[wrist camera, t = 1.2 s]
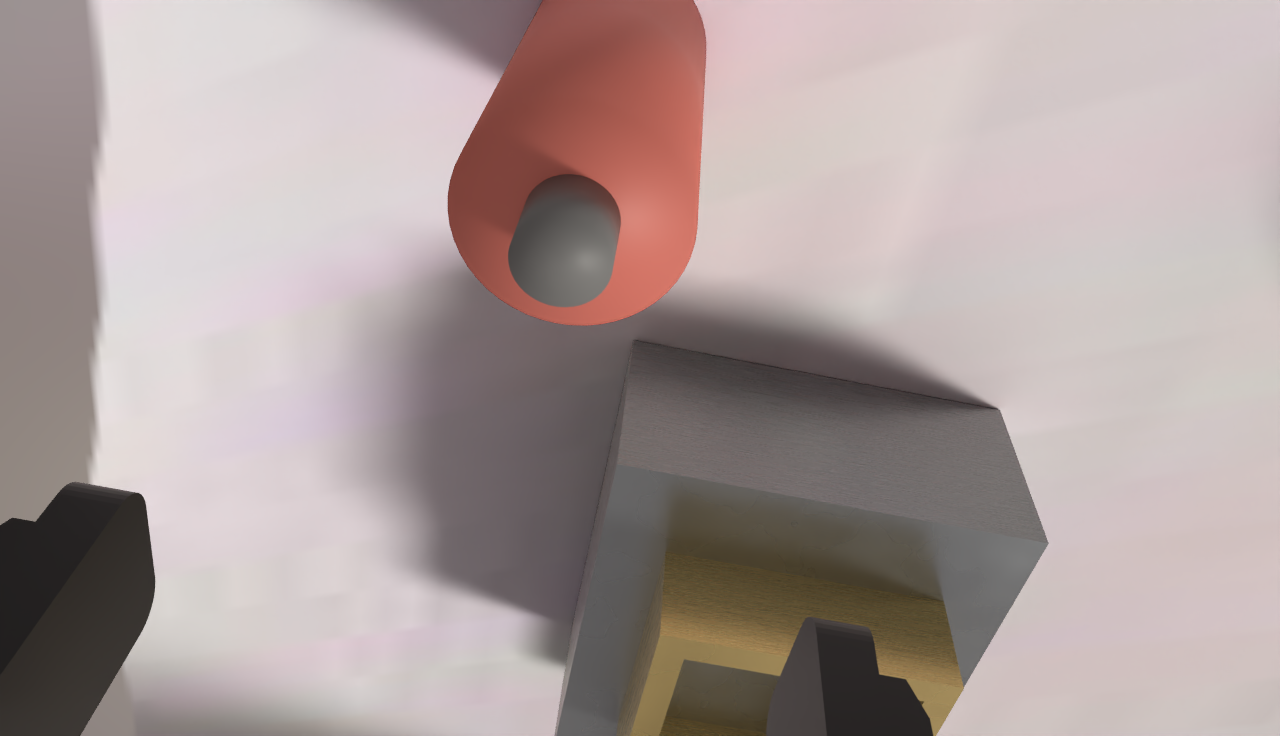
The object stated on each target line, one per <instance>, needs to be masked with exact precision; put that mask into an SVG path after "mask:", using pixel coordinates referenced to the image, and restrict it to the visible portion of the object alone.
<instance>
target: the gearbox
mask: <svg viewBox="0 0 1280 736" xmlns="http://www.w3.org/2000/svg"><path fill="white" fill-rule="evenodd" d="M1047 545H1048V541H1047V538H1046V535H1045V532H1044V530H1043V527H1042V524H1041V521H1040V519H1039V516H1038V513H1037V510H1036V508H1035V505H1034V502H1033V500H1032V497H1031V494H1030V491H1029V489H1028V486H1027V483H1026V480H1025V478H1024V475H1023V472H1022V469H1021V467H1020V464H1019V461H1018V458H1017V456H1016V453H1015V450H1014V447H1013V445H1012V442H1011V439H1010V436H1009V434H1008V431H1007V428H1006V425H1005V423H1004V420H1003V417H1002V414H1001V412H1000V410H997V409H992V408H986V407H981V406H976V405H971V404H965V403H960V402H955V401H950V400H944V399H939V398H934V397H929V396H923V395H918V394H913V393H908V392H902V391H897V390H892V389H887V388H881V387H876V386H871V385H866V384H860V383H855V382H850V381H845V380H839V379H834V378H829V377H824V376H818V375H813V374H808V373H803V372H797V371H792V370H787V369H782V368H776V367H771V366H766V365H761V364H755V363H750V362H745V361H740V360H734V359H729V358H724V357H719V356H714V355H708V354H703V353H698V352H693V351H687V350H682V349H677V348H672V347H666V346H661V345H656V344H651V343H645V342H640V341H635V340H634V341H633V345H632V350H631V355H630V359H629V364H628V368H627V373H626V378H625V382H624V387H623V392H622V396H621V401H620V406H619V410H618V415H617V420H616V424H615V429H614V433H613V438H612V443H611V447H610V452H609V457H608V461H607V466H606V471H605V475H604V480H603V484H602V489H601V494H600V498H599V503H598V508H597V512H596V517H595V522H594V526H593V531H592V535H591V540H590V545H589V549H588V554H587V559H586V563H585V568H584V573H583V577H582V582H581V586H580V591H579V596H578V600H577V605H576V610H575V614H574V619H573V624H572V628H571V635H570V641H569V647H568V653H567V660H566V666H565V672H564V679H563V685H562V691H561V698H560V704H559V710H558V717H557V723H556V729H555V736H766V729H767V719H768V712H769V707H770V702H771V698H772V695H773V692H774V689H775V687H776V684H777V682H778V680H779V677H780V675H781V673H782V670H783V668H784V665H785V663H786V661H787V658H788V656H789V654H790V651H791V649H792V647H793V644H794V642H795V640H796V637H797V635H798V633H799V630H800V628H801V626H802V624H803V622H804V620H805V619H806V618H807V617H815V618H820V619H826V620H831V621H837V622H842V623H848V624H853V625H859V626H865V627H868V628H869V629H870V631H871V633H872V636H873V639H874V645H875V651H876V657H877V663H878V670H879V674H880V675H885V676H891V677H897V678H902V679H906V680H907V682H908V683H909V685H910V687H911V688H912V690H913V692H914V693H915V695H916V697H917V698H918V700H919V702H920V703H921V705H922V706H923V708H924V710H925V711H926V713H927V715H928V716H929V718H930V721H931V726H932V731H933V736H936V735H937V733H938V731H939V730H940V728H941V726H942V725H943V723H944V721H945V719H946V718H947V716H948V714H949V713H950V711H951V709H952V708H953V706H954V704H955V702H956V701H957V699H958V697H959V696H960V694H961V692H962V691H963V689H964V686H965V684H966V683H967V681H968V679H969V678H970V676H971V674H972V672H973V671H974V669H975V667H976V666H977V664H978V662H979V661H980V659H981V657H982V655H983V654H984V652H985V650H986V649H987V647H988V645H989V644H990V642H991V640H992V639H993V637H994V635H995V633H996V632H997V630H998V628H999V627H1000V625H1001V623H1002V622H1003V620H1004V618H1005V616H1006V615H1007V613H1008V611H1009V610H1010V608H1011V606H1012V605H1013V603H1014V601H1015V599H1016V598H1017V596H1018V594H1019V593H1020V591H1021V589H1022V588H1023V586H1024V584H1025V582H1026V581H1027V579H1028V577H1029V576H1030V574H1031V572H1032V571H1033V569H1034V567H1035V565H1036V564H1037V562H1038V560H1039V559H1040V557H1041V555H1042V554H1043V552H1044V550H1045V549H1046V547H1047Z"/></svg>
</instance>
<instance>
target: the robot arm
mask: <svg viewBox="0 0 1280 736" xmlns="http://www.w3.org/2000/svg"><path fill="white" fill-rule="evenodd" d="M154 592H155V574H154V566H153V558H152V550H151V542H150V534H149V526H148V518H147V510H146V504H145V500H144V498H143V496H142V495H141V494H139V493H135V492H129V491H124V490H118V489H113V488H107V487H102V486H96V485H91V484H85V483H79V482H72V483H69V484H68V485H66V486H65V487H64V488H62V490H61V491H60V492H59V493H58V494H57V495H56V497H55V498H54V499H53V500H52V502H51V503H50V504H49V505H48V507H47V508H46V509H45V510H44V512H43V513H42V514H41V515H40V517H39V518H38V519H37V521H36V522H33V521H28V520H22V519H17V518H11V519H9V520H8V521H6V522H5V523H3V524H2V525H0V736H80V735H81V733H82V732H83V730H84V728H85V726H86V725H87V723H88V721H89V720H90V718H91V716H92V715H93V713H94V711H95V710H96V708H97V706H98V705H99V703H100V701H101V700H102V698H103V696H104V694H105V693H106V691H107V689H108V688H109V686H110V684H111V683H112V681H113V679H114V678H115V676H116V674H117V673H118V671H119V669H120V668H121V666H122V664H123V662H124V661H125V659H126V657H127V656H128V654H129V652H130V651H131V649H132V647H133V646H134V644H135V642H136V641H137V639H138V637H139V636H140V634H141V632H142V630H143V628H144V626H145V624H146V621H147V619H148V616H149V613H150V610H151V607H152V603H153V598H154ZM766 736H933V731H932V726H931V721H930V718H929V716H928V715H927V713H926V711H925V710H924V708H923V706H922V705H921V703H920V702H919V700H918V698H917V697H916V695H915V693H914V692H913V690H912V688H911V687H910V685H909V683H908V682H907V680H906V679H902V678H897V677H891V676H885V675H880V674H879V670H878V663H877V657H876V651H875V645H874V639H873V636H872V633H871V631H870V629H869V628H868V627H865V626H859V625H853V624H848V623H842V622H837V621H831V620H826V619H820V618H815V617H807V618H806V619H805V620H804V622H803V624H802V626H801V628H800V630H799V633H798V635H797V637H796V640H795V642H794V644H793V647H792V649H791V651H790V654H789V656H788V658H787V661H786V663H785V665H784V668H783V670H782V673H781V675H780V677H779V680H778V682H777V684H776V687H775V689H774V692H773V695H772V698H771V702H770V707H769V712H768V719H767V729H766Z"/></svg>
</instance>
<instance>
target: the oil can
mask: <svg viewBox="0 0 1280 736" xmlns="http://www.w3.org/2000/svg"><path fill="white" fill-rule="evenodd" d="M705 65H706V36H705V29H704V25H703V21H702V18H701V16H700V13H699V11H698V8H697V6H696V5H695V3H694V1H693V0H543V1H542V3H541V5H540V6H539V8H538V10H537V12H536V14H535V16H534V18H533V20H532V21H531V23H530V25H529V27H528V29H527V31H526V33H525V34H524V36H523V38H522V40H521V42H520V44H519V46H518V48H517V49H516V51H515V53H514V55H513V57H512V59H511V61H510V62H509V64H508V66H507V68H506V70H505V72H504V74H503V76H502V77H501V79H500V81H499V83H498V85H497V87H496V89H495V90H494V92H493V94H492V96H491V98H490V100H489V102H488V104H487V105H486V107H485V109H484V111H483V113H482V115H481V117H480V118H479V120H478V122H477V124H476V126H475V128H474V130H473V131H472V133H471V135H470V137H469V139H468V141H467V143H466V145H465V146H464V148H463V150H462V152H461V154H460V156H459V158H458V160H457V162H456V164H455V166H454V170H453V173H452V176H451V179H450V184H449V191H448V216H449V223H450V228H451V231H452V235H453V238H454V241H455V243H456V246H457V248H458V250H459V253H460V254H461V256H462V258H463V259H464V261H465V263H466V265H467V266H468V268H469V269H470V270H471V271H472V273H473V274H474V275H475V277H476V278H477V279H478V280H479V281H480V282H481V283H482V284H483V285H484V286H485V287H486V288H487V289H488V290H489V291H490V292H491V293H493V294H494V295H495V296H496V297H498V298H499V299H500V300H502V301H503V302H505V303H507V304H508V305H510V306H511V307H513V308H515V309H517V310H519V311H521V312H523V313H525V314H527V315H530V316H533V317H536V318H538V319H541V320H545V321H549V322H553V323H559V324H566V325H597V324H604V323H609V322H614V321H618V320H621V319H624V318H627V317H630V316H632V315H634V314H636V313H638V312H640V311H642V310H644V309H646V308H647V307H649V306H650V305H652V304H654V303H655V302H656V301H658V300H659V299H660V298H661V297H662V296H663V295H665V294H666V293H667V292H668V291H669V290H670V289H671V287H672V286H673V285H674V284H675V283H676V282H677V280H678V279H679V277H680V276H681V274H682V273H683V271H684V270H685V268H686V266H687V264H688V262H689V259H690V257H691V254H692V251H693V248H694V245H695V240H696V234H697V224H698V204H699V184H700V164H701V145H702V125H703V105H704V85H705Z"/></svg>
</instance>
